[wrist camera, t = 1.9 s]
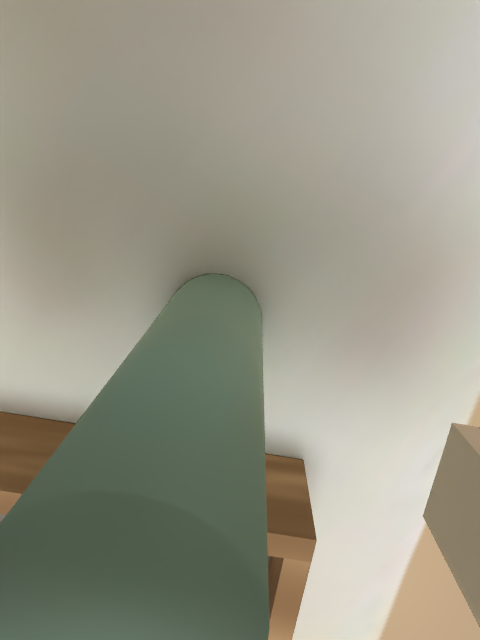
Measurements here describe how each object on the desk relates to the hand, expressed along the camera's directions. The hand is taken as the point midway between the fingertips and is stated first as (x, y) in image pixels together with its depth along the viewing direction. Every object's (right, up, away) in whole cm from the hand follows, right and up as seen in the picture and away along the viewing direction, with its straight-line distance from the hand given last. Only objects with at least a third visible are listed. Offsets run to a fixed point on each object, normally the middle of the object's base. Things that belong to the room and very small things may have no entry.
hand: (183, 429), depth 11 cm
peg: (0, +3, +8) cm, 9 cm away
